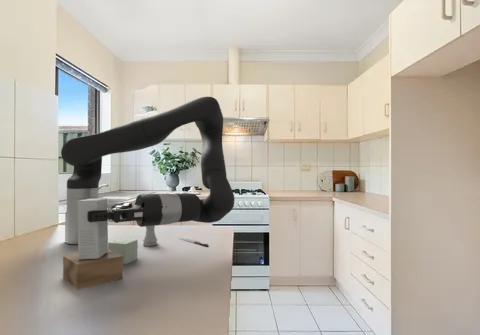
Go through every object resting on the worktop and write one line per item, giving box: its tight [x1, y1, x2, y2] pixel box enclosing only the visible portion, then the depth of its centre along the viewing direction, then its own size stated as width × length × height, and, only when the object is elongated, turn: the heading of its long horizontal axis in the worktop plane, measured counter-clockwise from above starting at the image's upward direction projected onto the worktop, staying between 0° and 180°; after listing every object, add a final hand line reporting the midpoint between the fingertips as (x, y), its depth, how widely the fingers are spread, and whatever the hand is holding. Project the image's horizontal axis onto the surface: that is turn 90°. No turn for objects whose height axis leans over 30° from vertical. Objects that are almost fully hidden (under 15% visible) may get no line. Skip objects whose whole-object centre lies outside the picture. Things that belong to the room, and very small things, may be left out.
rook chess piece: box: [142, 226, 158, 247], centre depth 98 cm, size 4×4×8 cm
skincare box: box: [77, 197, 109, 260], centre depth 67 cm, size 6×4×12 cm
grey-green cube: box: [108, 238, 139, 265], centre depth 81 cm, size 5×5×5 cm
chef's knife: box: [177, 237, 209, 248], centre depth 103 cm, size 19×1×3 cm
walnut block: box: [62, 250, 124, 290], centre depth 68 cm, size 9×9×5 cm
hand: (84, 214), depth 67 cm, fingers open, 8 cm apart
